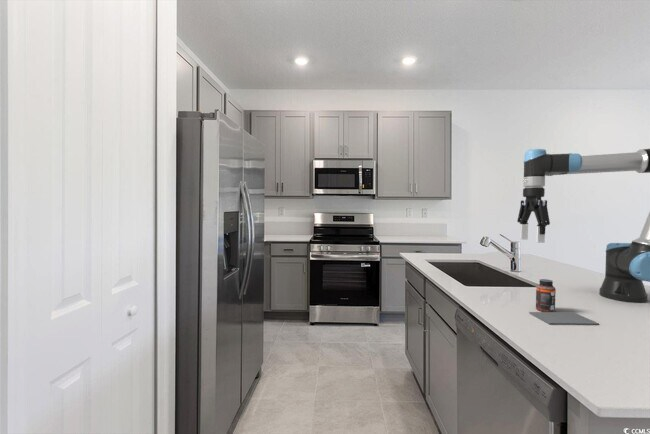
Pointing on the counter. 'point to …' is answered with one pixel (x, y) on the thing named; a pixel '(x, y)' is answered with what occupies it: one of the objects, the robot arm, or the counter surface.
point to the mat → (563, 318)
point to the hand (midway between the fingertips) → (531, 240)
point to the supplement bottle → (545, 296)
